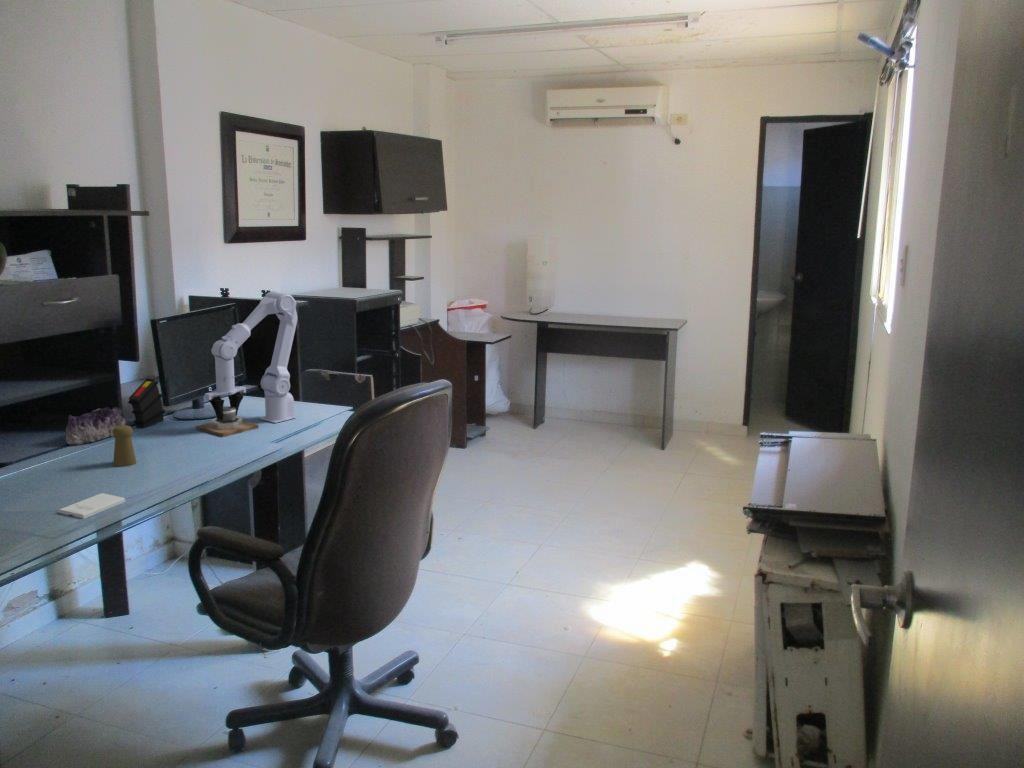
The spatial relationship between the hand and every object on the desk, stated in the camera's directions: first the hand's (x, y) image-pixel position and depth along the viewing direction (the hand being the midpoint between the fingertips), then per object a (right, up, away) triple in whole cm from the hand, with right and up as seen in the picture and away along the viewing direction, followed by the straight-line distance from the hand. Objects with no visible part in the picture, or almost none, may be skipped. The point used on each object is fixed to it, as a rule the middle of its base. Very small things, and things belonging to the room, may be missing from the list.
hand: (226, 417), depth 272 cm
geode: (-37, -6, -13) cm, 40 cm away
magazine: (-27, -3, +2) cm, 27 cm away
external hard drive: (-9, -20, -69) cm, 73 cm away
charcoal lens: (0, -2, 0) cm, 2 cm away
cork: (-16, -12, -37) cm, 42 cm away
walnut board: (0, -4, +1) cm, 4 cm away
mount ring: (0, -4, +1) cm, 4 cm away
